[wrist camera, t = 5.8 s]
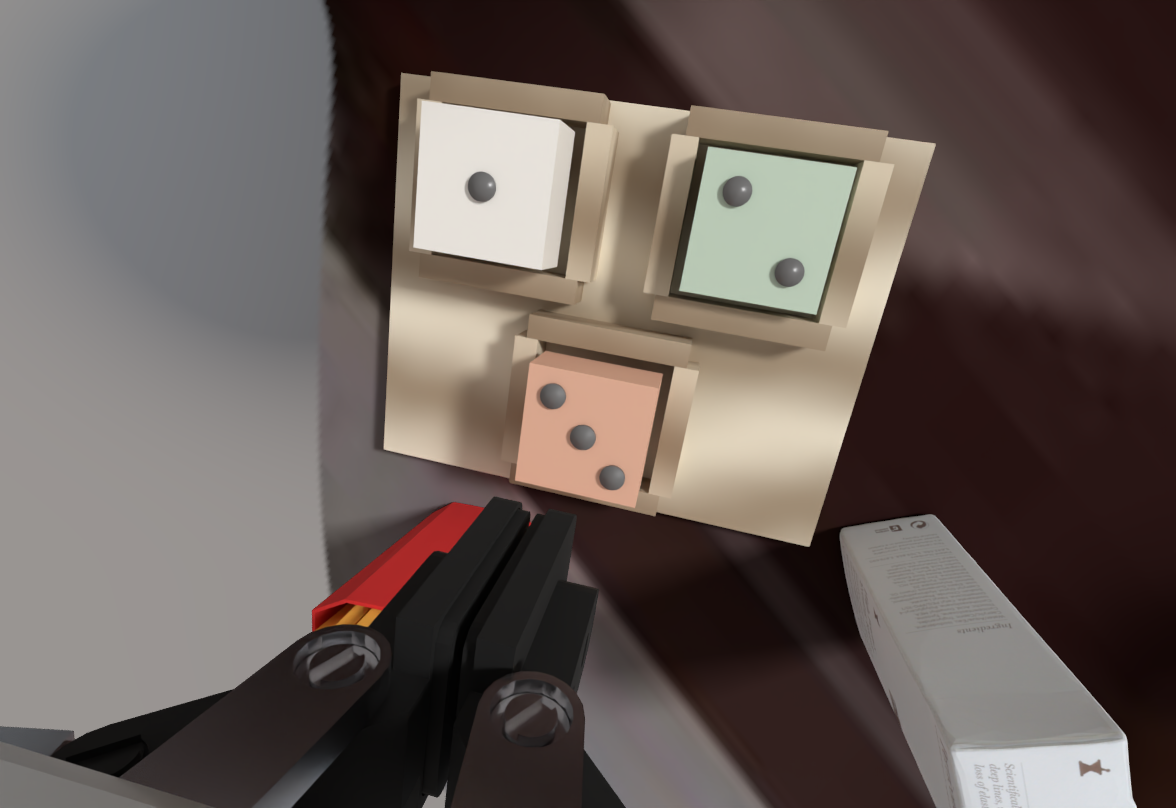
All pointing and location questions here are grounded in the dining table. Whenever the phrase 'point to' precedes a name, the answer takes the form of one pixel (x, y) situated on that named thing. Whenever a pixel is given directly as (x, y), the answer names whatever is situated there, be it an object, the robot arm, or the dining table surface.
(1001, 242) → the dining table surface
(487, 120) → the white square block
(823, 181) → the tile
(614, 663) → the dining table surface
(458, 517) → the french fries
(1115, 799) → the skincare box
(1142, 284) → the dining table surface
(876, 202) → the board
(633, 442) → the pink square block
